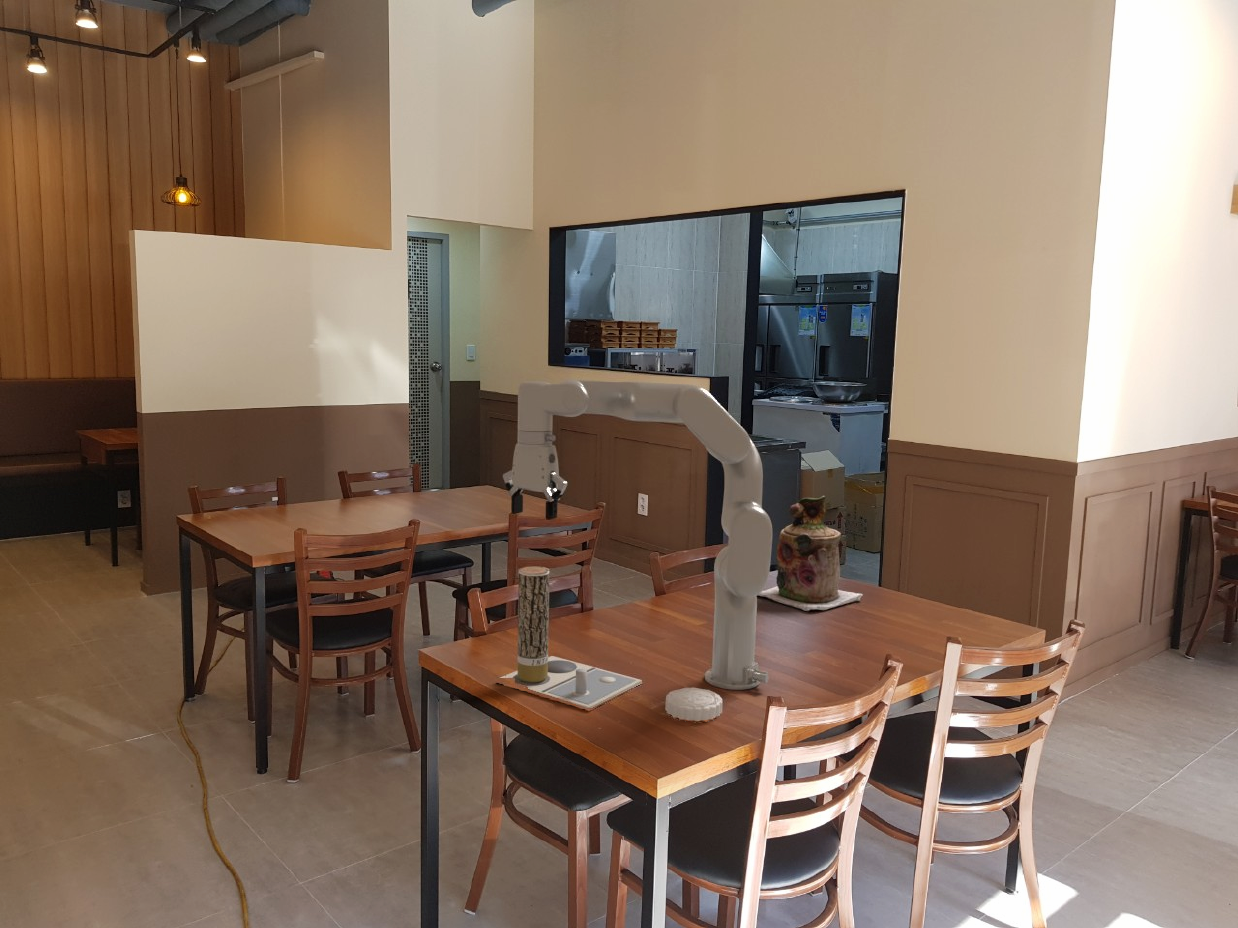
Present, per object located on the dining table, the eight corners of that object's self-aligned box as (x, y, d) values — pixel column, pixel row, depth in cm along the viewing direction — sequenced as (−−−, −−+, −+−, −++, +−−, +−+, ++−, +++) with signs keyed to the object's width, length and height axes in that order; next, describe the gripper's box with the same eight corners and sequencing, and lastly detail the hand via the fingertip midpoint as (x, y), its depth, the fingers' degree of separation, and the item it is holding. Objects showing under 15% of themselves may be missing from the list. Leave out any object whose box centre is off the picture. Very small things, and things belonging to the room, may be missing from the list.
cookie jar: (801, 583, 309) (806, 485, 305) (865, 601, 290) (871, 497, 286) (749, 595, 293) (753, 492, 289) (813, 615, 275) (819, 505, 270)
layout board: (642, 684, 217) (642, 658, 216) (589, 711, 201) (590, 683, 200) (552, 659, 232) (552, 635, 231) (496, 683, 215) (496, 657, 214)
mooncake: (654, 714, 201) (655, 698, 200) (682, 697, 211) (683, 681, 210) (705, 728, 194) (706, 711, 194) (731, 709, 204) (732, 693, 204)
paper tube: (511, 680, 214) (512, 571, 211) (528, 671, 220) (529, 564, 217) (537, 686, 211) (538, 575, 208) (553, 676, 217) (555, 569, 214)
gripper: (577, 440, 207) (575, 518, 209) (515, 434, 216) (515, 508, 219) (555, 443, 201) (554, 523, 203) (493, 436, 210) (492, 513, 213)
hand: (533, 515), depth 211 cm, fingers open, 9 cm apart
